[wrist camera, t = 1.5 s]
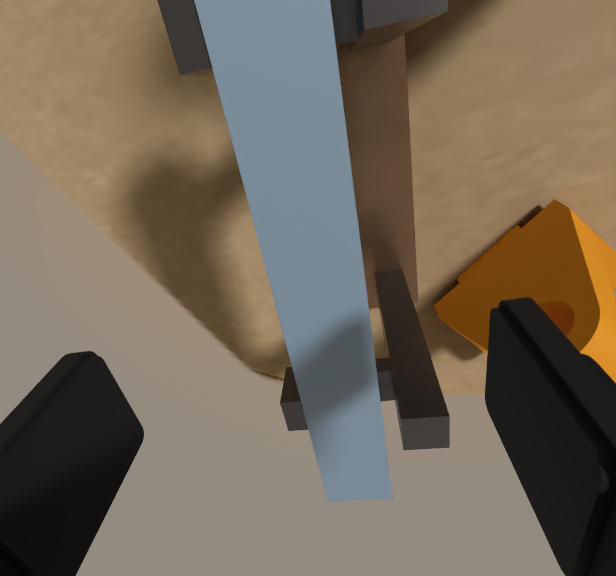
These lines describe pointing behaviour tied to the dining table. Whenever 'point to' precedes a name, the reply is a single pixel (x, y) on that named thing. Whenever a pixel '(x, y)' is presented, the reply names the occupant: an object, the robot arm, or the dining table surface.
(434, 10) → the stand
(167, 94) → the dining table surface
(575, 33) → the dining table surface
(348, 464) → the rail
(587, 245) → the bracket
